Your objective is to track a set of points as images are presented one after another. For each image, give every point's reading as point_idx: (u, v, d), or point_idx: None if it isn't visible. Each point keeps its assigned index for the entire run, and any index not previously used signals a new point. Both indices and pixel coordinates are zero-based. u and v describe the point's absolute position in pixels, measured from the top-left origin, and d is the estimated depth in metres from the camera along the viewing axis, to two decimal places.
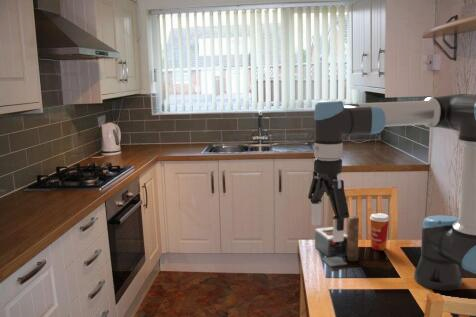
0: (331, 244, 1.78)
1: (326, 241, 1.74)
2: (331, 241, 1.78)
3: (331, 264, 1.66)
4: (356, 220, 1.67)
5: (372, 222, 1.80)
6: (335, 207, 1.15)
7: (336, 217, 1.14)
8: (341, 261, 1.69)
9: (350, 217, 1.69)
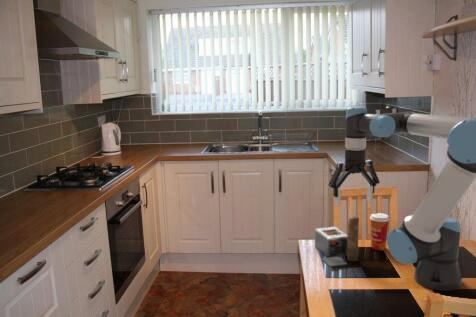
0: (331, 244, 1.78)
1: (326, 241, 1.74)
2: (331, 241, 1.78)
3: (331, 264, 1.66)
4: (356, 220, 1.67)
5: (372, 222, 1.80)
6: (337, 180, 1.65)
7: None
8: (341, 261, 1.69)
9: (350, 217, 1.69)
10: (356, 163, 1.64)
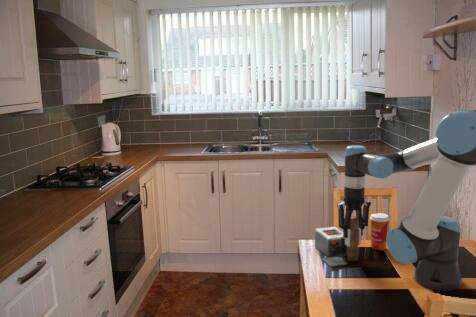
0: (331, 244, 1.78)
1: (326, 241, 1.74)
2: (331, 241, 1.78)
3: (331, 264, 1.66)
4: (356, 220, 1.67)
5: (372, 222, 1.80)
6: (344, 221, 1.69)
7: None
8: (341, 261, 1.69)
9: None
10: (355, 200, 1.67)
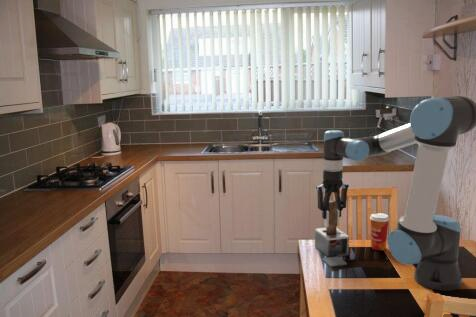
0: None
1: (326, 241, 1.74)
2: None
3: (331, 264, 1.66)
4: (334, 204, 1.75)
5: (372, 222, 1.80)
6: (323, 203, 1.77)
7: None
8: (341, 261, 1.69)
9: (329, 201, 1.77)
10: (333, 183, 1.74)
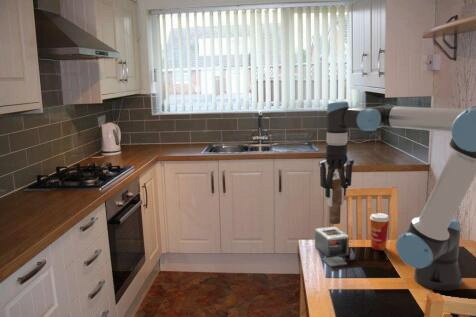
0: None
1: (326, 241, 1.74)
2: (331, 245, 1.78)
3: (331, 264, 1.66)
4: (338, 181, 1.62)
5: (372, 222, 1.80)
6: (326, 180, 1.64)
7: None
8: (341, 261, 1.69)
9: None
10: (337, 158, 1.61)
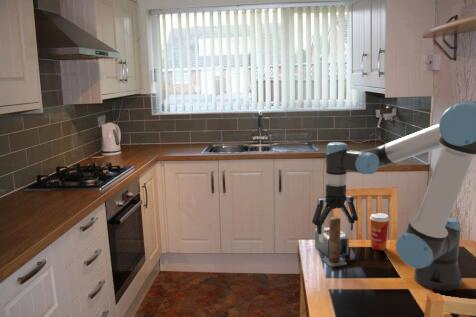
0: None
1: (326, 241, 1.74)
2: None
3: (331, 264, 1.66)
4: (337, 221, 1.65)
5: (372, 222, 1.80)
6: (320, 217, 1.66)
7: None
8: (341, 261, 1.69)
9: (331, 218, 1.67)
10: (337, 198, 1.64)
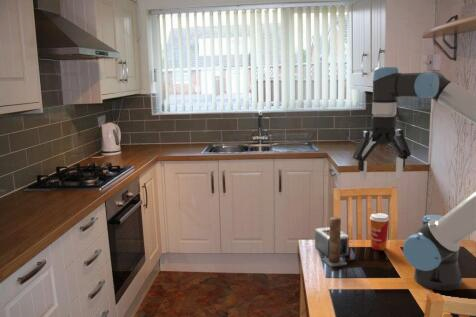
0: None
1: (326, 241, 1.74)
2: None
3: (331, 264, 1.66)
4: (338, 221, 1.65)
5: (372, 222, 1.80)
6: (362, 152, 1.45)
7: None
8: (341, 261, 1.69)
9: (332, 218, 1.67)
10: (385, 132, 1.43)
